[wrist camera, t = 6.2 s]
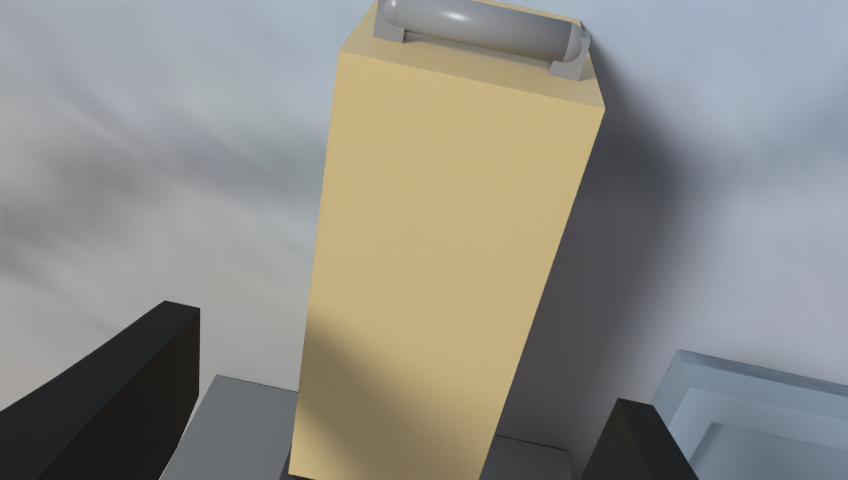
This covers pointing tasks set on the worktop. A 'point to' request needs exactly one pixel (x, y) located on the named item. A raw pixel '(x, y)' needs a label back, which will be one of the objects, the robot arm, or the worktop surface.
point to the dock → (273, 433)
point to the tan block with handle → (437, 231)
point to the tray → (754, 421)
